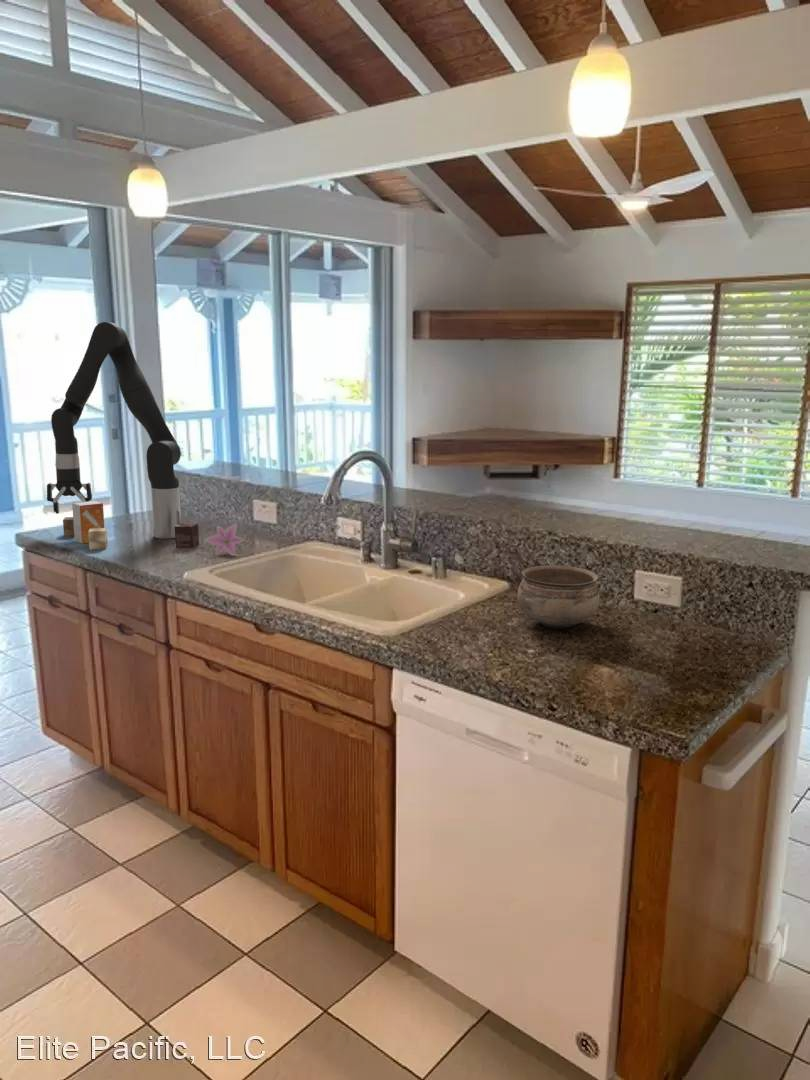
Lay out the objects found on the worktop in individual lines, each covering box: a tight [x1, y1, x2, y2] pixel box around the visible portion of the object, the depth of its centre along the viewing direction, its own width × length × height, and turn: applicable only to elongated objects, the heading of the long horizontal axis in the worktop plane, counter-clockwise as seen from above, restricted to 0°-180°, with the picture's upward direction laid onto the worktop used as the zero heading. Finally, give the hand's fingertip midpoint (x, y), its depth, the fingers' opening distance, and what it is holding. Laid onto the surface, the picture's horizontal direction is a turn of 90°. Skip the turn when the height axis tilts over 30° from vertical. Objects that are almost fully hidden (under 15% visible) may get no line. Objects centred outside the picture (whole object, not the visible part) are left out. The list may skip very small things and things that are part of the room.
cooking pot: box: [517, 564, 601, 630], centre depth 188 cm, size 25×19×12 cm
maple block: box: [88, 527, 109, 551], centre depth 261 cm, size 5×5×6 cm
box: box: [174, 522, 200, 549], centre depth 264 cm, size 6×6×7 cm
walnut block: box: [62, 516, 75, 538], centre depth 279 cm, size 5×5×6 cm
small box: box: [71, 500, 105, 545], centre depth 269 cm, size 8×6×13 cm
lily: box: [204, 523, 245, 557], centre depth 256 cm, size 11×11×9 cm
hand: (70, 513), depth 278 cm, fingers open, 8 cm apart
